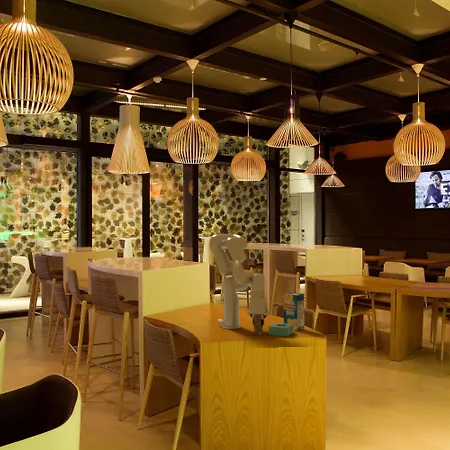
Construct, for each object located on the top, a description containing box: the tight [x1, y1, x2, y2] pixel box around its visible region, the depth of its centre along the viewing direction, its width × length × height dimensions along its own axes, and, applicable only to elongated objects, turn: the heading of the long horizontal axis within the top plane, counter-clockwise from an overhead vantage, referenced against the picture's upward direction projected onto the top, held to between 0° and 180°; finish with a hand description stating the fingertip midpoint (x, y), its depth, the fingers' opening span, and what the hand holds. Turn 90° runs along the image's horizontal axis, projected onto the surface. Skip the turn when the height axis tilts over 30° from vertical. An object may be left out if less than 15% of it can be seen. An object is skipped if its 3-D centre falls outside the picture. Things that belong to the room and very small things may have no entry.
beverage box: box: [283, 291, 305, 332], centre depth 320 cm, size 7×11×22 cm, turn 42°
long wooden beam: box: [253, 314, 264, 336], centre depth 307 cm, size 4×4×14 cm
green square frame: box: [268, 322, 294, 338], centre depth 308 cm, size 11×11×5 cm
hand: (258, 325), depth 307 cm, fingers closed on long wooden beam, 4 cm apart
